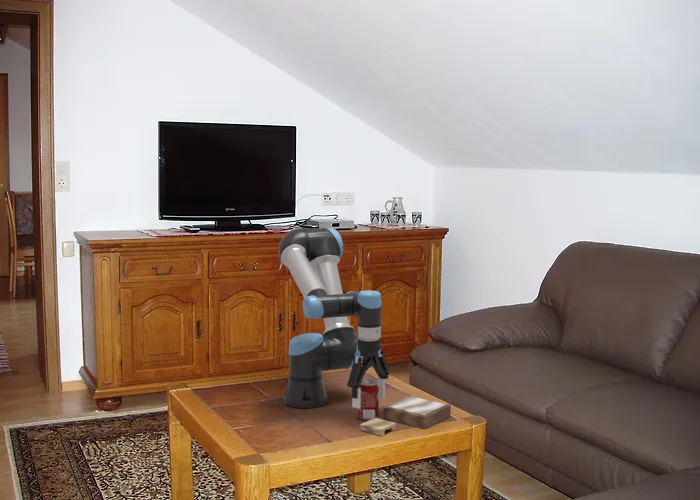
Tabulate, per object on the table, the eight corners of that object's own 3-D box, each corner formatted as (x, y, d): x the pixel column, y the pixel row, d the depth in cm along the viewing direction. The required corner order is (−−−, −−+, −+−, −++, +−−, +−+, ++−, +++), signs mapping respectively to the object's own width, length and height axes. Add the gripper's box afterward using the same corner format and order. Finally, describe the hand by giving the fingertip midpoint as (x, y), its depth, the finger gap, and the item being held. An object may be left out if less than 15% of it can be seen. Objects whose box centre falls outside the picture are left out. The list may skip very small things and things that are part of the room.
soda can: (376, 422, 248) (377, 386, 246) (355, 420, 249) (356, 384, 248) (379, 415, 254) (380, 380, 253) (359, 413, 256) (360, 378, 254)
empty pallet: (360, 430, 240) (360, 424, 240) (375, 423, 246) (375, 417, 246) (381, 436, 235) (381, 429, 235) (395, 429, 242) (395, 423, 241)
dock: (383, 418, 252) (383, 406, 251) (409, 406, 264) (410, 394, 264) (424, 428, 242) (425, 416, 242) (450, 415, 255) (450, 404, 254)
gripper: (355, 347, 236) (355, 414, 239) (400, 333, 256) (399, 395, 258) (336, 343, 241) (336, 409, 243) (381, 331, 261) (381, 392, 263)
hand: (368, 402), depth 251 cm, fingers open, 13 cm apart
